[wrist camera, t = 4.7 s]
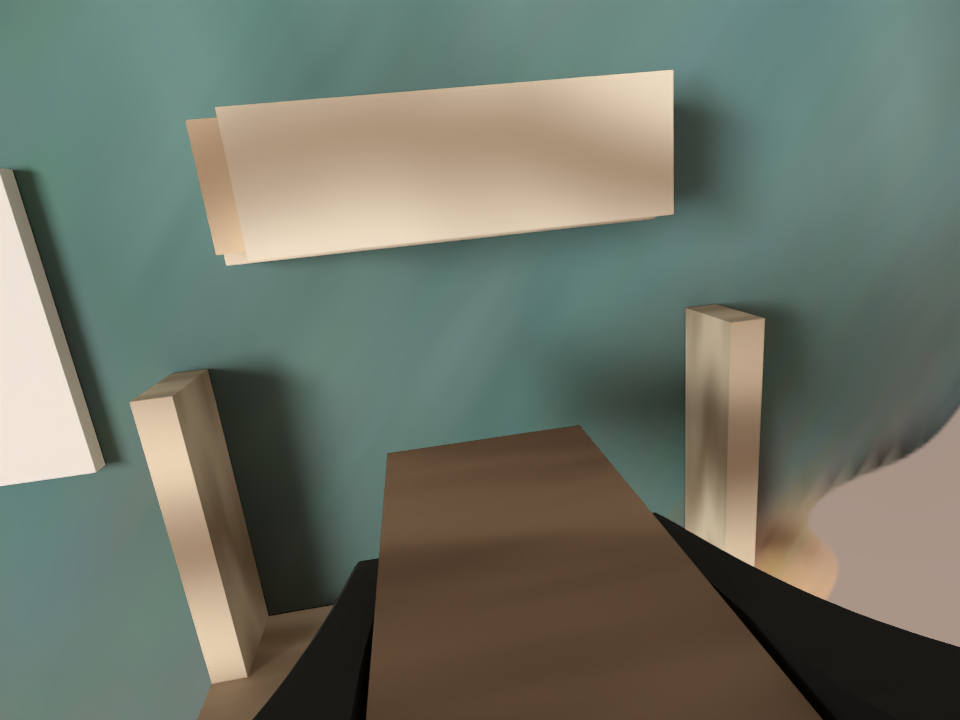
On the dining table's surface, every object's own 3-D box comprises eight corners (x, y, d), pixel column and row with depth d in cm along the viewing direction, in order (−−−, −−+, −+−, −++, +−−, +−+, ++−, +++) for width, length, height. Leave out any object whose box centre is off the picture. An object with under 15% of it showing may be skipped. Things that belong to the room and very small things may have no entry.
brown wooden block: (585, 541, 15) (824, 974, 6) (406, 571, 15) (405, 1083, 6) (579, 425, 14) (848, 749, 6) (387, 453, 14) (355, 858, 5)
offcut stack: (638, 218, 20) (693, 219, 16) (238, 262, 18) (195, 274, 14) (636, 97, 18) (694, 68, 15) (210, 134, 17) (156, 112, 13)
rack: (710, 563, 24) (787, 650, 19) (244, 646, 22) (199, 766, 17) (715, 304, 21) (807, 330, 16) (171, 373, 19) (91, 427, 14)
